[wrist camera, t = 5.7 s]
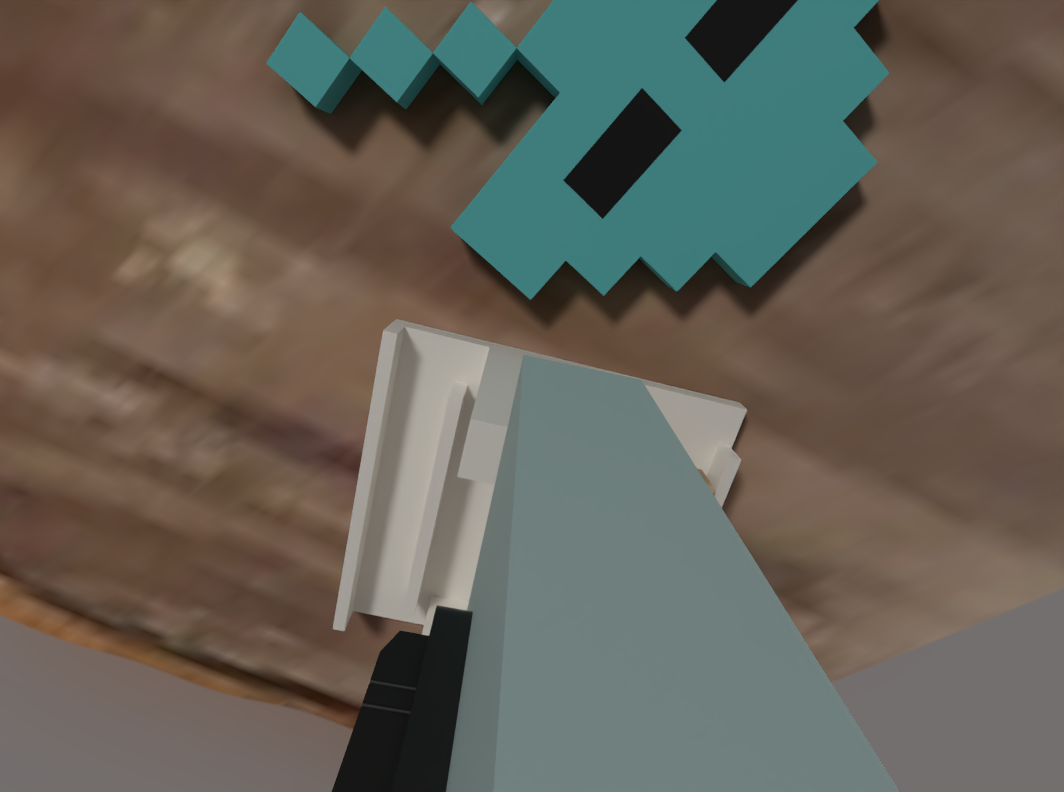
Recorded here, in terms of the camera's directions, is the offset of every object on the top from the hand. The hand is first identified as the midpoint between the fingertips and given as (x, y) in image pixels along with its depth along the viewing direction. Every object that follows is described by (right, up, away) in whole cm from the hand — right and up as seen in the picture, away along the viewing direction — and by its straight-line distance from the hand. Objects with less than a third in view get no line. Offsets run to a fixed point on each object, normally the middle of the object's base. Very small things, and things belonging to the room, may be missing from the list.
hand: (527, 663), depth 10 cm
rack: (0, -1, +19) cm, 19 cm away
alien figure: (+4, +19, +13) cm, 23 cm away
